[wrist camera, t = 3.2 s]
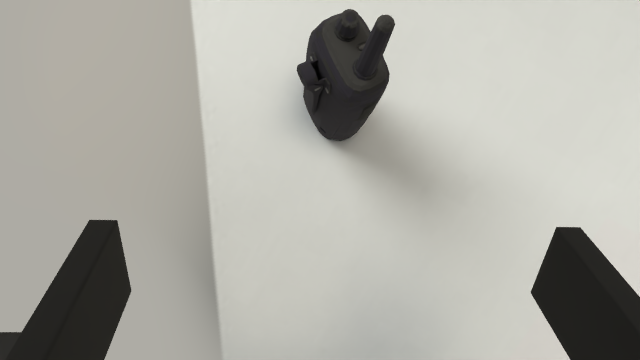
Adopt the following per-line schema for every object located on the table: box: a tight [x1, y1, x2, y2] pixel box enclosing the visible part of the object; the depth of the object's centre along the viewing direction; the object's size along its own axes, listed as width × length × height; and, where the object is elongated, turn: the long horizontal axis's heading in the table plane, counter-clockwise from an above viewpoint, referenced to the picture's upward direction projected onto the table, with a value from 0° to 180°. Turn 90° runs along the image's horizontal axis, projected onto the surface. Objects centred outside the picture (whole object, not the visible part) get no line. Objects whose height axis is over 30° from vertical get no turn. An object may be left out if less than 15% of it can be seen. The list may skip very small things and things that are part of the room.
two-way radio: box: [297, 9, 395, 141], centre depth 27 cm, size 6×4×15 cm
